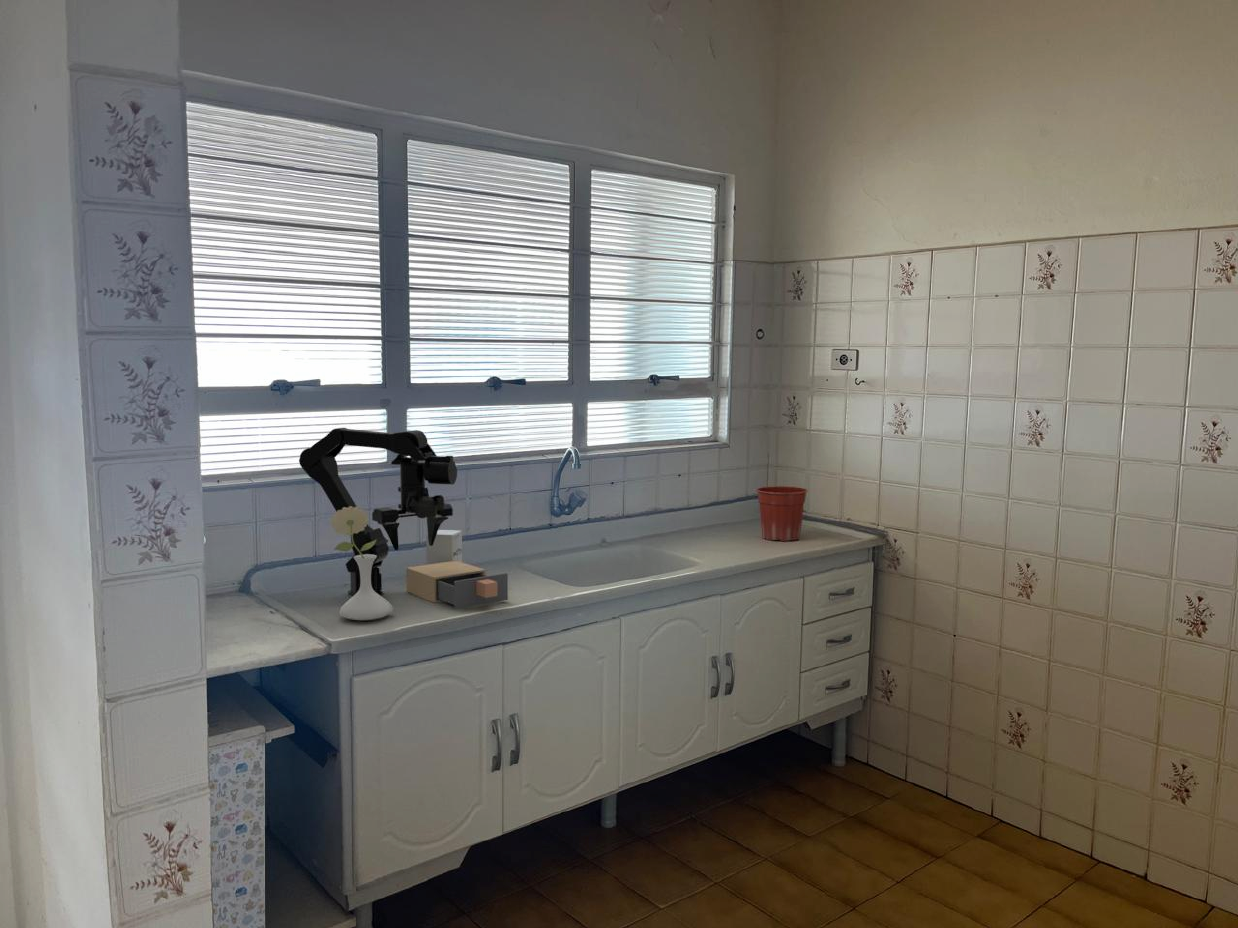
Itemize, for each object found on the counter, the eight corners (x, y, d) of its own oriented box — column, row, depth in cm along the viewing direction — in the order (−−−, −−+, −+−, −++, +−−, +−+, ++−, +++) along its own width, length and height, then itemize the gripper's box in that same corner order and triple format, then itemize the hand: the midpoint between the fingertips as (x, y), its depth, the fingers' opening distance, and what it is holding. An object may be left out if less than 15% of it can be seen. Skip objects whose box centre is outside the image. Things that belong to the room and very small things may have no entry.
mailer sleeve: (434, 602, 227) (434, 577, 226) (406, 591, 238) (406, 567, 237) (485, 593, 236) (485, 569, 235) (456, 583, 247) (456, 560, 246)
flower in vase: (397, 610, 219) (395, 502, 217) (387, 624, 208) (384, 510, 205) (339, 611, 219) (336, 502, 216) (326, 624, 208) (323, 510, 205)
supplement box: (452, 583, 247) (452, 534, 246) (425, 582, 248) (424, 533, 247) (463, 577, 254) (462, 530, 253) (436, 575, 256) (436, 528, 254)
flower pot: (751, 541, 308) (752, 491, 306) (759, 532, 323) (760, 485, 322) (803, 544, 303) (804, 493, 301) (808, 535, 318) (810, 487, 317)
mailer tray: (465, 612, 216) (464, 584, 216) (424, 596, 231) (424, 570, 230) (517, 603, 225) (516, 576, 225) (474, 588, 240) (474, 563, 239)
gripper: (392, 490, 218) (393, 558, 219) (464, 483, 229) (465, 548, 231) (370, 485, 226) (372, 550, 228) (440, 479, 238) (441, 541, 240)
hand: (413, 547), depth 231 cm, fingers open, 9 cm apart
